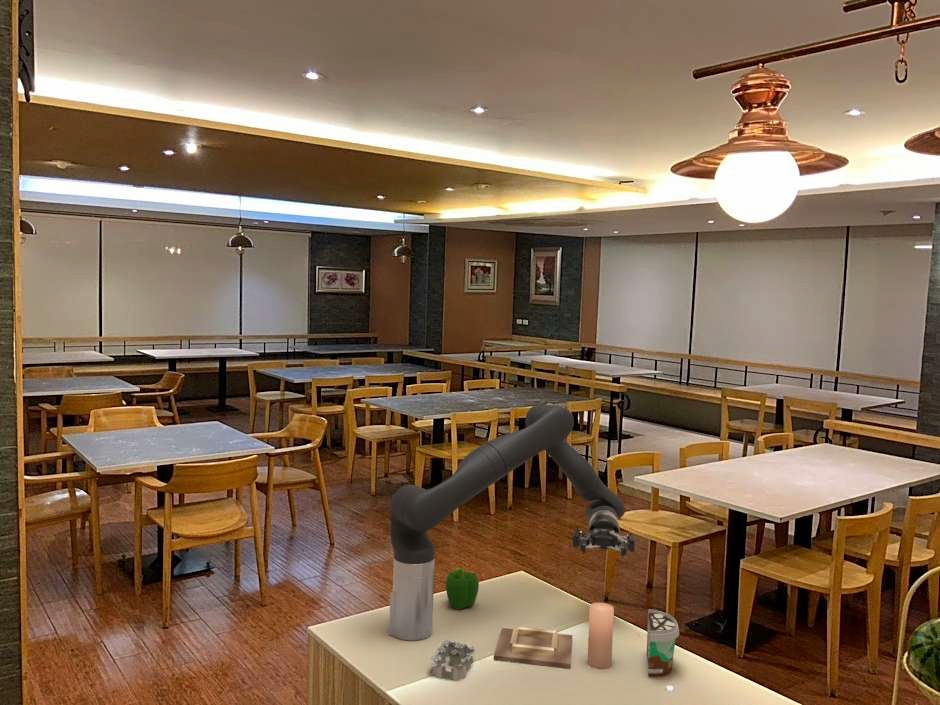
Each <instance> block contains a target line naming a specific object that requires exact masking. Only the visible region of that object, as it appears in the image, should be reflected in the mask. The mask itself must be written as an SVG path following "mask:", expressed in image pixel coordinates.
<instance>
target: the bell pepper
mask: <svg viewBox="0 0 940 705" xmlns="http://www.w3.org/2000/svg"><path fill="white" fill-rule="evenodd" d="M445 579H446V581H445V590H446V591H445V592H446V595H447V596H446V597H447V601H448V603H449V605H450V606H451V607H452V608H453V609H457V610H461V609H466V608H472V606H473V605H474V604H475V602H476V599H477V596H478V592H479V587H480V582H479V579H478V576H477V574H476V572H467V571H465V570H463V568H462V567H460V566H459V567H456V568H455V569H454V570H453V571H449V572H448V575H447V577H446V578H445Z"/></svg>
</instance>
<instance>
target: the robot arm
mask: <svg viewBox="0 0 940 705" xmlns="http://www.w3.org/2000/svg"><path fill="white" fill-rule="evenodd" d="M574 420H575V418H574V416H573V414H572V412H571V411H570V410H569V409H567V407H563V406H561V405H557V404H535V405H534V406H532V407H530V408H529V409H528V411H527V412H526V414H525V419H524V422H525V423H524V424H525V428H522V429H520V430H517V431H513V432H510V433H507V434H504V435H500V436H498V437H494V438H493V439H492V438H491V439H490V440H488V441H486V442H484V443H482V444H481V445H479V446H478V447H476V448H475V449H473V450H471V451H470V452H468V454H467V455H465V456H464V457H463V459H462V460H461V461H460V463H459V465H458V467H457V469H456V470H455V471H454V473H453V474H452V475H451V476H450V477H448V478H447V479H445V480H444V481H442V482H440V483H439V484H437V485H435V486H434V487H432V488H429V489H426V488H423V487H420V486H418V485H415V484H405V485H403V486H401V487H400V488H398V489H397V491H396V492H395V493H394V494H393V497H392V499H391V500H392V501H391V504H390V519H389V520H390V542H391V547H392V550H393V572H392V573H393V577H392V591H391V592H390V594H389V618H388V619H389V621H388V622H389V624H388V625H389V626H388V635H389V636H394V637H395V638H397V639H399V640H404V641H420V640H423V639H427V638H429V637H430V636H431V635H432V633H433V623H434V618H433V616H434V615H433V614H434V589H435V588H434V585H435V582H434V581H435V556H436V555H435V554H436V552H435V544H434V543H433V542H432V540H431V538H430V537H429V534H428V531H431V530H433V529H434V528H436V527H437V526H438V525H439V524H441V523H442V522H443V521H444V520H445V519H447V518H448V517H449V516H451V515H452V514H453V513H454V512H455V511H456V510H457V509H458V508H460V507H461V506H462V505H464V504H465V503H467V502H468V501H469V500H471V499H473V498H474V497H475V496H476V495H478V494H480V493H481V492H482V491H484V490H486V489H487V488H489V487H491V486H492V485H494V484H495V483H497V482H498V481H500V480H501V479H502V478H504V477H506V476H507V475H508V474H509V473H511V472H512V471H515V469H518V467H520V466H521V465H522V466H523V464H525V463H526V462H528V461H529V460H531V459H532V458H534V457H535V456H536V455H538V454H539V453H542V452H544V451H545V452H546V453H547V454H548V455H549V457H550V458H552V460H553V461H554V462H555V464H556V465H557V466H558V467H559V469H560V470H561V471H562V472H563V474H564V475H565V476H566V477H567V479H568V481H569V482H570V483H571V486H572V487H573V489H574V490H575V491H576V493H577V494H578V496H579V497H580V498H581V500H583V501H585V502H589V503H588V504H587V505H586V506H585V508H584V514H585V517H586V519H587V521H588V523H589V524H588V531H586V532H582V531H581V529H578V528H577V529H574V532H573V535H572V547H573V548H578V547H579V551H580V552H582V554H586V553H587V549H593V548H597V549H600V550H610V549H612V550H614V551H620V557H625V555H628V551H629V552H632V553H634V552H635V551H636V539H635V535H634V533H628V534H626V536H625V535H622V534H621V533H620V532H621V531H620V528H621V527H620V522H619V519H621V518H622V517H623V516H624V515H625V512H626V507H625V503H624V501H623V499H622V498H620V497H619V495H618V494H616V493H615V492H614V491H612V490H611V489H610V488H609V487H608V486H607V485H605V483H604V482H603V481H602V480H601V477H599V475H598V474H597V472H596V470H595V468H593V466H592V465H591V464H590V462H589V461H588V460H587V459H586V458H584V457H583V456H582V455H581V454H580V453H579V452H578V451H577V450H575V449H574V447H573V446H572V445H570V443H569V442H568V441H567V440H566V439H567V438H568V437H569V436H570V434H571V433H572V431H573V428H574V424H575V423H574V422H575V421H574Z"/></svg>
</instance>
